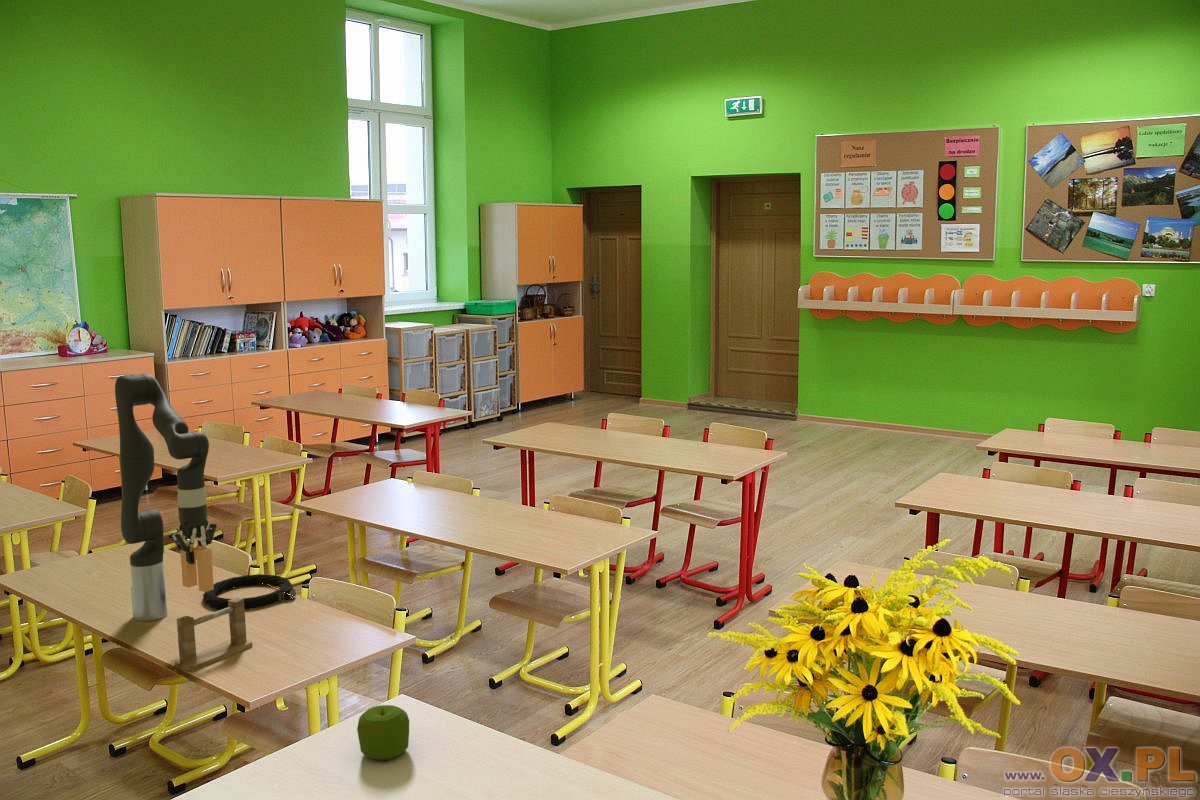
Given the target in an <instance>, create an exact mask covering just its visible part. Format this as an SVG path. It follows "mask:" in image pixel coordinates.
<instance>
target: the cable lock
mask: <svg viewBox="0 0 1200 800" xmlns="http://www.w3.org/2000/svg"><path fill="white" fill-rule="evenodd" d="M262 583H263V584H265V585H263V584H262ZM213 584H214V589H213V590H210V591H207V592H204V593H203V594H202V597H203V598H202V600H203V602H204V604H206V605H208V606H209V607H211V608H214V609H218V610H222V609H224V608H227V607H228V601H229V600H231V599H232V598H227V597H226V598H225V597H219V596H217V595H219V594H220V593H223V592H224V591H223V590H226V591H227V589H228V590H230V588H232V589H234V588H233V587H237V588H240V587H239V586H241V587H245V586H256V584H258V586H259V584H261V585H260V586H266V585H268V586H273V587H278V589H277V590H274V591H273V592H270V593H266V594H262V595H258V596H253V597H252V596H251V597H244V598H243V597H242V598H241V599H244V608H245V610H250V609H251V608H253V609H258V608H261V607H262V606H263V607H266V605H267V606H270V605H269V604H271V605H274V604H275V603H278V602H279V603H282V602H284V601H287V600H288V599H289V598H290V600H291V597H292V598H294V599H295V598H296V596H297V592H296V589H295V588H294V587H293V584H292V583H291V581H290V580H289V579H287V578H286V577H284V576H280V575H277V574H276V575H274V574H262V573H257V574H249V575H248V574H246V575H242V576H234V577H229V578H227V579H223V580H220V581H216V582H215V583H213ZM222 591H223V592H222ZM284 592H285V593H284ZM287 593H288V594H291V595H288V594H287ZM292 595H293V596H292ZM294 596H295V597H294ZM277 601H278V602H277ZM281 601H282V602H281ZM288 601H289V600H288ZM257 607H258V608H257Z"/></svg>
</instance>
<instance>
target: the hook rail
mask: <svg viewBox="0 0 1200 800" xmlns="http://www.w3.org/2000/svg"><path fill="white" fill-rule="evenodd" d="M230 599H231V600H229V601H228V607H227V608H224V609H218V610H217V611H214V612H211V613H209V614H205V615H203V616H200V617H197V618H194V617H192V616H189V615H184V616H182V617H179V618H176V628H177V629H176V631H177V640H178V642H177V643H178V655H179V660H176V661H174V662H173V663H174V667H175V668H178V669H181V670H185V671H188V672H190V673H191V672H193V671H194V672H195V671H196V670H199V669H201V668H203V667H206V666H208V665H210V664H213V663H216V662H219V661H220V660H223V659H225V658H227V657H230V656H232V655H234V654H235V655H236V654H238V653H239V652H242V651H244V650H246V649H249V648H252V647H253V641H251V640H250V641H249V640H247V628H246V627H247V625H246V611H245V610H246V609H245V608H244V599H242V598H240V597H234V598H230ZM227 614H228V619H229V621H228V622H229V633H230V634H229V635H230V639H229V640H227V641H224V642H221V643H219V644H216V645H213V646H210V647H209V648H205V649H204V650H201V651H198V652H197V647H196V645H197V644H196V634H195V631H196V630H195V626H197V625H200V624H203V623H205V622H208V621H209V622H210V620H214V619H216V618H219V617H222V616H224V615H227Z"/></svg>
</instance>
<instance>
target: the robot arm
mask: <svg viewBox="0 0 1200 800" xmlns="http://www.w3.org/2000/svg"><path fill="white" fill-rule="evenodd" d="M114 394H115V405H116V410H117V421H118V429H119V431H118V432H119V461H120V473H121V474H120V475H121V510H120V512H121V513H120V531H121V534H122V535H121V536H122V538H123V541H125V543H126V544H129V545H135V544H139V543H143V542H144V543H143V544H142V545H141V546H140V547H139V548H138V549H137V550H135V551H133V552H132V553H131V554H130V556H129V562H130V563H129V566H130V576H131V587H130V591H131V592H130V594H131V605H132V606H131V607H132V616H133V617H134V620H136V621H137V622H153V621H157V620H161V619H162V618H164V617H166V616H167V615H168V606H167V605H168V603H167V590H166V577H165V566H164V565H165V563H164V553H165V545H164V543H165V540H164V537H165V536H164V533H165V531H164V530H165V529H164V521H163V516H162V515H161V513H160V511H159V510H157V509H155V508H150V509H149V508H148V509H143V510H140V511H139V506H140V501H141V500H140V499H141V497H142V495H143V493H144V491H145V489H146V487H147V486H148V484H149V482H150V480H151V478H152V476H153V474H154V471H155V449H154V445H153V444H152V442H151V441H150V439H149V438H148V436H147V435H146V434H145V433H144V431H143V430H142V429H141V427H140V426H139V425H138V423H137V420H136V419H135V414H134V407H139V406H145V405H152V406H153V407H154V409H153V412H152V424H153V426H154V428H155V429H156V431H157V432H158V433H159V434H160V435H161V437H163V439H164V441H165V443H166V447H167V451H168V454H169V455H170V457H172V458H173V459H175V460H179V461H180V460H186V459H191V460H190V461H189V463H188V464H186V465H183V466H181V467H179V468H178V469H177V471H176V482H177V483H176V484H177V509H178V512H177V513H178V520H179V522H180V525H179V528H178V530H177V531H176V532H172V533H171V534H170V537H171V539H172V540H173V542H174V543H175V546H176V547H177V549H178V550H179V551H180V550H182V551H185V552H186V561H187V562H188V564H195V559H194V551H193V547H194V545H195V543H196V545H197V546H201V547H205V548H207V546H208V545H211V544H212V542H213V538H214V536H215V532H216V529H217V527H218V525H217V523H212V522H209V521H208V516H209V515H208V504H207V503H208V500H207V491H206V485H205V468H206V462H207V458H208V454H209V451H210V443H209V439H208V437H207V434H205V433H204V432H202V431H193V432H191V431H190V432H189V426H188V424H187V423H186V421H185V420H184V419H183V418H182V417H181V416H180V415H179V413H177V412H176V411H175V410H174V408H173V407H172V405H171V402H170V400H169V399H168V397H167V395H166V393H165V392H164V390H163V387H162V386H161V385H160V383H159V381H158V380H157V379H156V377H154V376H153V375H152V374H150V373H136V374H125V375H120V376H118V377H116V380H115V384H114Z"/></svg>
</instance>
